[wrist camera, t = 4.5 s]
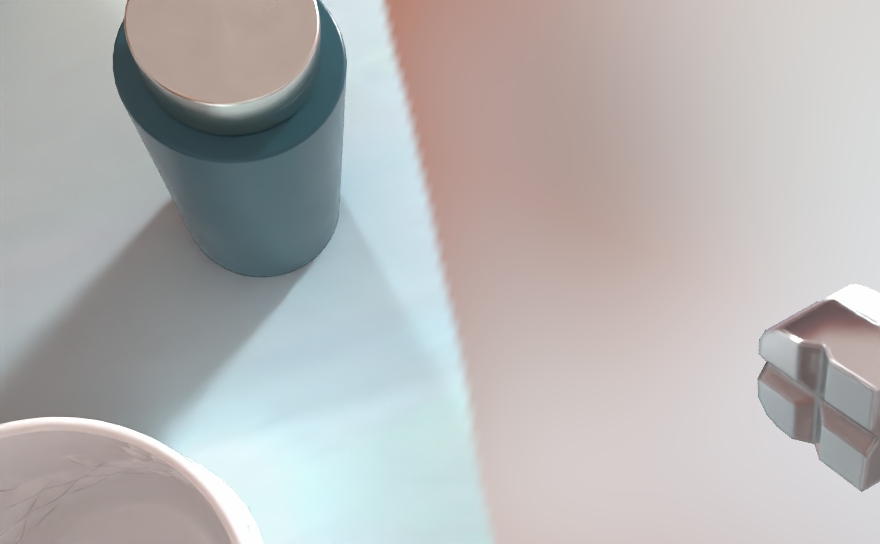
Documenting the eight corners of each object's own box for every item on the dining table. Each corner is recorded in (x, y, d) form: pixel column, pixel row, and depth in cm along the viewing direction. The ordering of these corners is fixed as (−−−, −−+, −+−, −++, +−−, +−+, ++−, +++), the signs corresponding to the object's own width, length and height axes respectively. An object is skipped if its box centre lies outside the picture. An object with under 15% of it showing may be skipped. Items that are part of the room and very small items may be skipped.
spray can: (353, 156, 27) (372, -50, 17) (319, 293, 26) (315, 158, 15) (210, 121, 27) (138, -113, 16) (166, 258, 25) (55, 95, 15)
